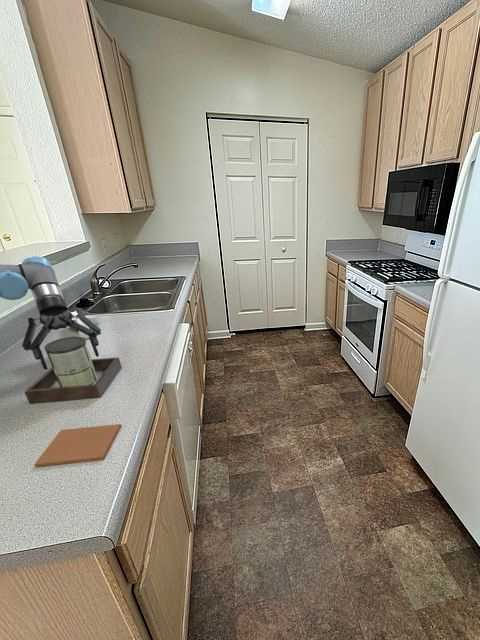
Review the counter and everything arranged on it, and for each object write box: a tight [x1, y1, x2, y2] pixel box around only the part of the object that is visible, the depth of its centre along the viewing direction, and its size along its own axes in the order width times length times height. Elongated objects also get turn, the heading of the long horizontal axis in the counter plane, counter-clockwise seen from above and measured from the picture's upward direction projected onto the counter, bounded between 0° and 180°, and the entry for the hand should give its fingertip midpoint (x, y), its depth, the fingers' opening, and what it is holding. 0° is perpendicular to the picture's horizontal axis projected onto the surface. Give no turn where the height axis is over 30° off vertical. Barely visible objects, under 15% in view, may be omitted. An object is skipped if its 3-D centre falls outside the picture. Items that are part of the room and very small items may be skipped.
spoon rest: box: [72, 314, 98, 340], centre depth 144 cm, size 24×12×7 cm, turn 34°
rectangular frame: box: [24, 356, 123, 405], centre depth 103 cm, size 19×19×4 cm
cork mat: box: [33, 423, 122, 468], centre depth 78 cm, size 14×12×1 cm
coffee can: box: [43, 336, 99, 387], centre depth 101 cm, size 10×10×14 cm
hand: (72, 361), depth 101 cm, fingers open, 13 cm apart
